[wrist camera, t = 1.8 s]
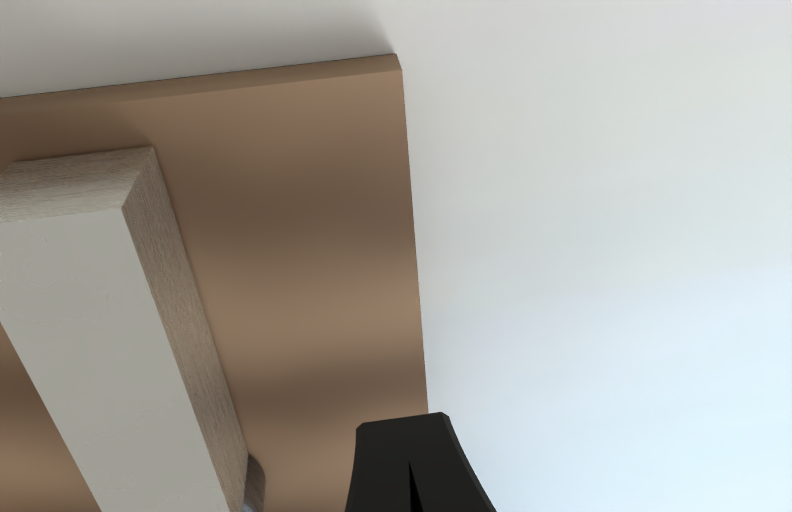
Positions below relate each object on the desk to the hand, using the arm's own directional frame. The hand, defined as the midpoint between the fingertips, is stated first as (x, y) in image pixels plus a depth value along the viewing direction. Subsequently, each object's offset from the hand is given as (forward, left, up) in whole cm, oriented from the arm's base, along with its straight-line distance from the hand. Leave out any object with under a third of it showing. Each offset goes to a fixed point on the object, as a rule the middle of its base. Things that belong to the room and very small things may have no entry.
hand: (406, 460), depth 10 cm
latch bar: (-3, +6, -7) cm, 10 cm away
